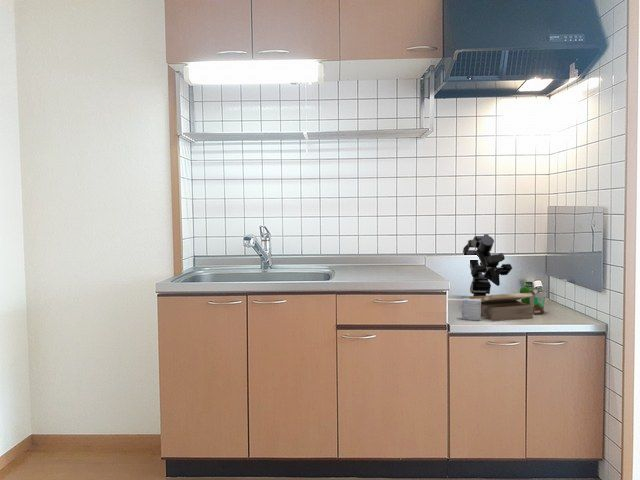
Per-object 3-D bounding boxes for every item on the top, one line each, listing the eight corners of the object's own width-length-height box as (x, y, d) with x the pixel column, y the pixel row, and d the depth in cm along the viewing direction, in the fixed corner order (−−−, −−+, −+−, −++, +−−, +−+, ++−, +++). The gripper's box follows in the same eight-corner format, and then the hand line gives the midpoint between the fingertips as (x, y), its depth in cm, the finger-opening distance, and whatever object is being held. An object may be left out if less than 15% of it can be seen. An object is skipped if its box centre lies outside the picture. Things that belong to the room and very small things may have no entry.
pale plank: (477, 302, 234) (477, 299, 234) (516, 300, 239) (516, 297, 239) (492, 298, 223) (491, 294, 223) (532, 296, 228) (531, 292, 228)
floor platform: (468, 311, 242) (468, 296, 242) (506, 308, 247) (506, 294, 246) (492, 320, 223) (492, 304, 222) (533, 318, 228) (533, 302, 227)
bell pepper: (534, 302, 263) (534, 282, 262) (539, 305, 255) (539, 285, 254) (517, 301, 264) (517, 282, 263) (521, 305, 256) (522, 285, 255)
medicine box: (480, 318, 227) (481, 299, 227) (480, 320, 223) (480, 301, 222) (462, 317, 230) (462, 298, 229) (461, 319, 226) (461, 300, 225)
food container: (548, 315, 233) (549, 293, 232) (534, 314, 234) (534, 293, 233) (542, 309, 245) (543, 288, 244) (529, 309, 246) (529, 288, 245)
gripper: (474, 248, 237) (487, 276, 227) (510, 246, 241) (524, 274, 232) (465, 262, 245) (477, 290, 236) (500, 261, 250) (513, 287, 240)
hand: (498, 285), depth 236 cm, fingers closed
